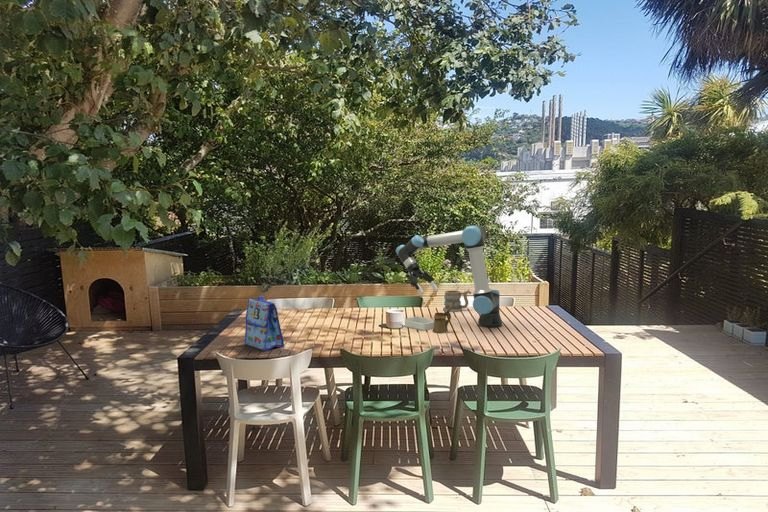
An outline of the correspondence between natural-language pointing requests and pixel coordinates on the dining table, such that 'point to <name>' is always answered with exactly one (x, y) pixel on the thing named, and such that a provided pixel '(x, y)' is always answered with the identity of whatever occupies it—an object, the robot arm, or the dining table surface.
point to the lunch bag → (262, 325)
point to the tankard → (455, 300)
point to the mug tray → (419, 323)
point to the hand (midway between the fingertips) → (429, 291)
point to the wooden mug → (442, 321)
